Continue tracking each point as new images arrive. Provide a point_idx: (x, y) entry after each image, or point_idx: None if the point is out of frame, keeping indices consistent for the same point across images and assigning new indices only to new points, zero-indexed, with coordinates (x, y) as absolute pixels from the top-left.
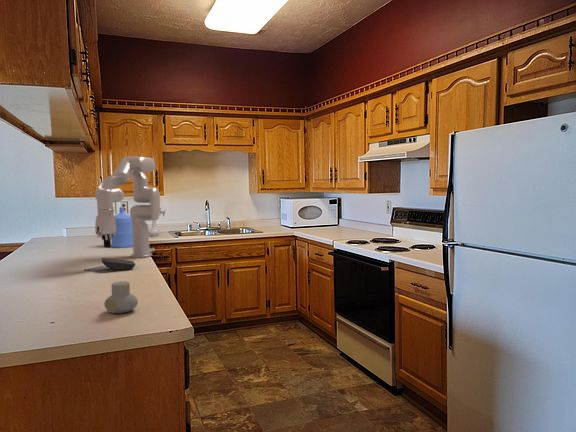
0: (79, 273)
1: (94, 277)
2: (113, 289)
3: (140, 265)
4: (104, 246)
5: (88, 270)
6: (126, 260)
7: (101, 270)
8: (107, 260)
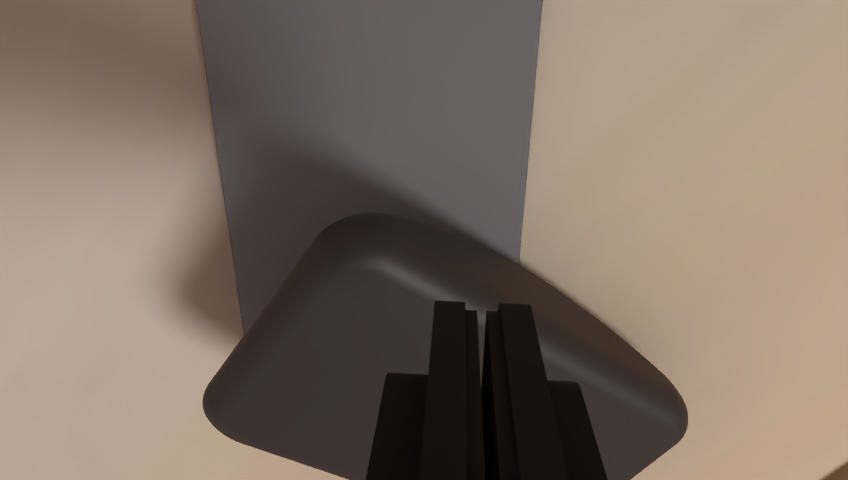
0: (32, 96)
1: (54, 425)
2: None
3: (777, 386)
4: (435, 323)
5: (205, 49)
6: (618, 415)
7: (283, 251)
8: (261, 445)
